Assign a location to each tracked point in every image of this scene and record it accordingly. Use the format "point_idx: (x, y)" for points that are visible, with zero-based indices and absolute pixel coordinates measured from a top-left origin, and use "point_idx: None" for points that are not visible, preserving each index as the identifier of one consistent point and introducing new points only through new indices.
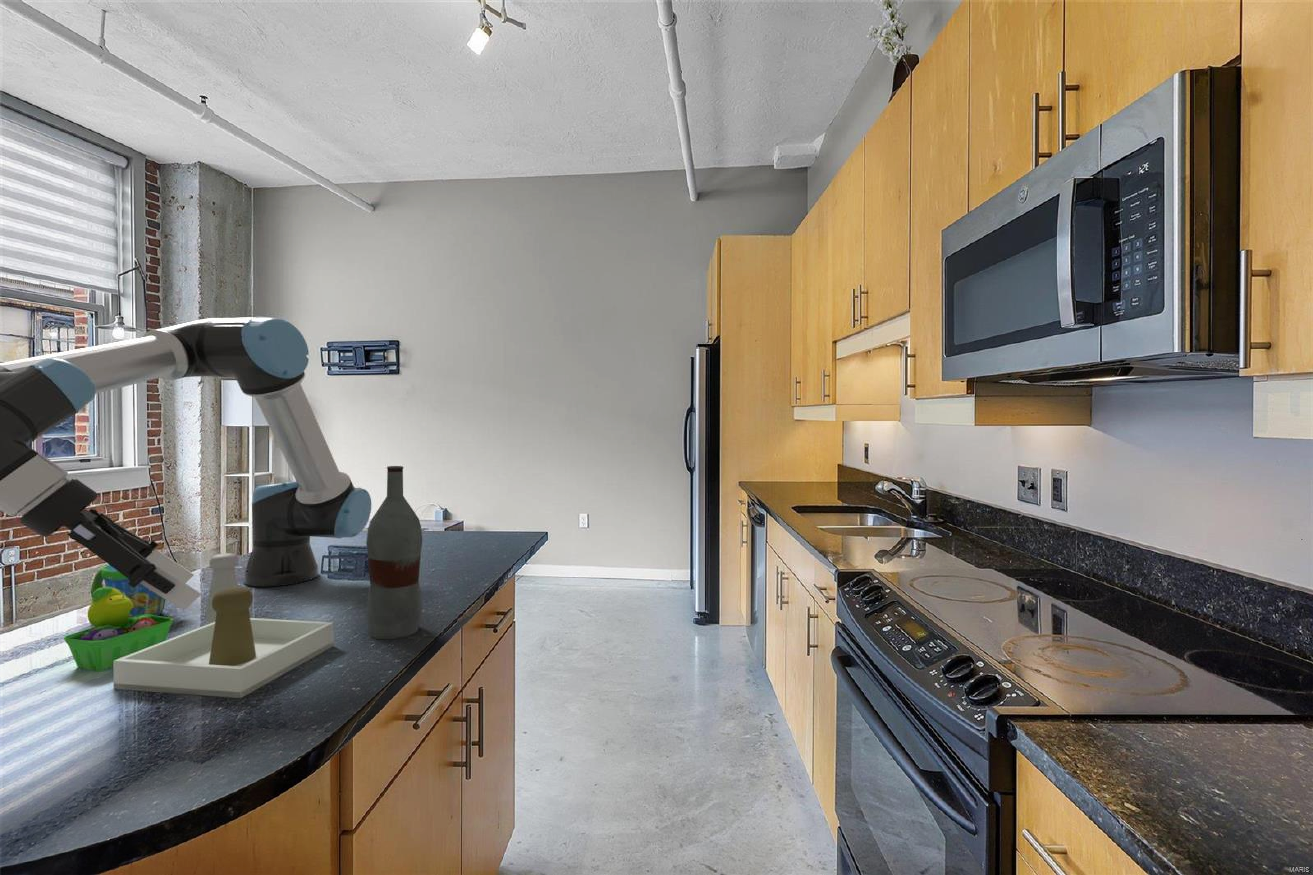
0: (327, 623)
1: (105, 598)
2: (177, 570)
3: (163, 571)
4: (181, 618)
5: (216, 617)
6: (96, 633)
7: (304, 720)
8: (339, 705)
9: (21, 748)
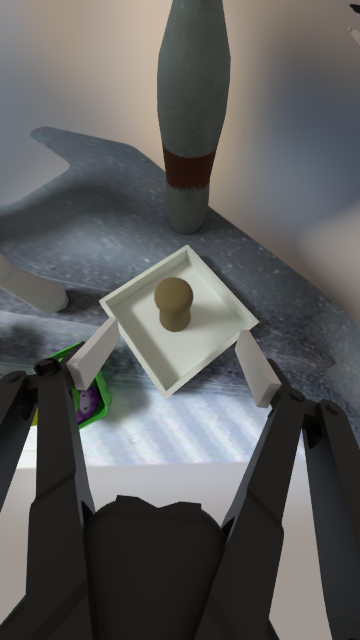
0: (186, 248)
1: None
2: (108, 335)
3: (275, 374)
4: (3, 326)
5: (174, 316)
6: (81, 411)
7: (308, 306)
8: (297, 286)
9: (248, 454)
